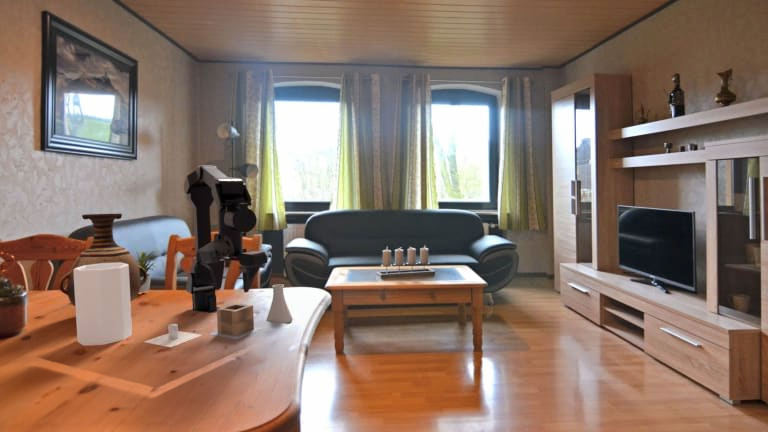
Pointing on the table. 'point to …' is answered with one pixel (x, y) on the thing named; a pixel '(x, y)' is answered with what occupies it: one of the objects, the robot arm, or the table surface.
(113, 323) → the cup
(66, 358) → the table surface
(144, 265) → the house plant
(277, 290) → the flask
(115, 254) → the vase
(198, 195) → the robot arm
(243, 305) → the walnut collar
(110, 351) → the table surface
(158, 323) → the table surface
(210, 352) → the table surface
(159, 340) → the rod stand
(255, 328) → the plate
